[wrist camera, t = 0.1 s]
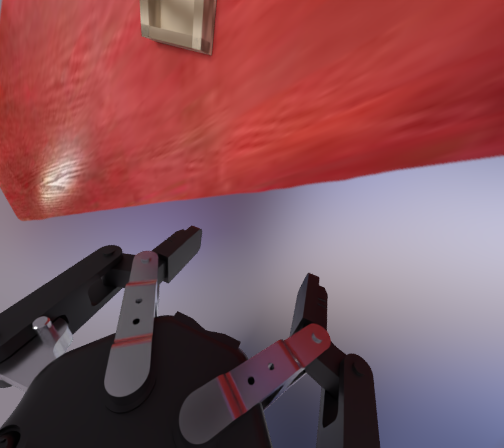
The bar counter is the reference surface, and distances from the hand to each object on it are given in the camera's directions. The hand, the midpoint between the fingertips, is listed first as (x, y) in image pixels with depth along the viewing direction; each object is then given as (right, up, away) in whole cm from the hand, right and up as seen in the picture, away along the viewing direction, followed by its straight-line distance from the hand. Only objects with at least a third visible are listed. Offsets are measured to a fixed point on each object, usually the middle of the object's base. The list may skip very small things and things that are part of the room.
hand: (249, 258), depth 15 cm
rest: (-11, +37, +19) cm, 43 cm away
